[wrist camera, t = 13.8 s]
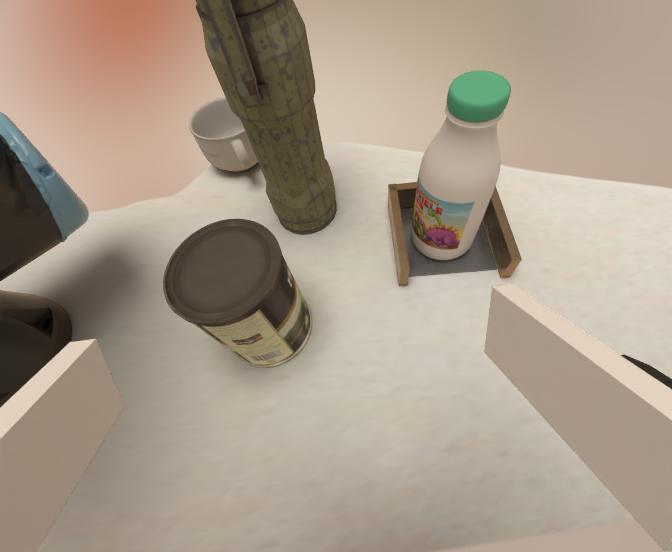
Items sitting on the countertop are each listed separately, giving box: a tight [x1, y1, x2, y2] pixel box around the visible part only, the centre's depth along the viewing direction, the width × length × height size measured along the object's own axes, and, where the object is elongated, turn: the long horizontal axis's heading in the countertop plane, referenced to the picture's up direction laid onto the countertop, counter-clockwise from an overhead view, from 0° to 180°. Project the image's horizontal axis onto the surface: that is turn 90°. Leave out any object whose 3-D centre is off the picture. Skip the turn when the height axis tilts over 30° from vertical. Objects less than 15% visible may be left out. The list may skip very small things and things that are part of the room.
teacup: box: [189, 97, 258, 171], centre depth 52 cm, size 14×11×8 cm
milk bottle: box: [411, 71, 511, 260], centre depth 34 cm, size 8×8×20 cm
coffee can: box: [163, 219, 312, 368], centre depth 34 cm, size 10×10×14 cm
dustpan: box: [388, 182, 522, 286], centre depth 40 cm, size 15×13×8 cm
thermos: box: [196, 0, 337, 234], centre depth 33 cm, size 9×12×35 cm
